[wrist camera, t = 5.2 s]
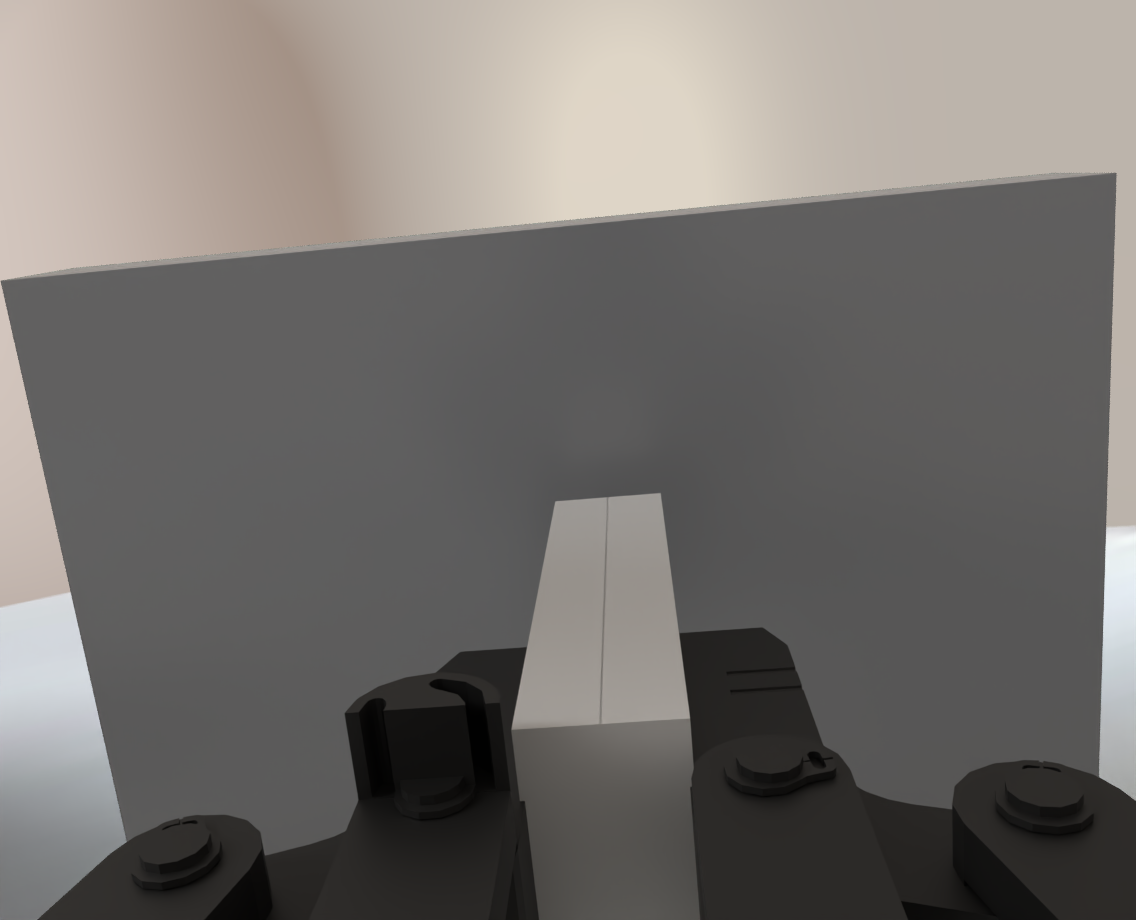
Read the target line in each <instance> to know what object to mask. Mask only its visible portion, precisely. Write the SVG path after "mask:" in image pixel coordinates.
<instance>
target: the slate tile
mask: <svg viewBox="0 0 1136 920" xmlns="http://www.w3.org/2000/svg"><path fill="white" fill-rule="evenodd" d="M1115 204H1116V173H1049V174H1039V175H1029V176H1018V177H1008V178H998V179H988V180H977V181H967V182H956V183H946V184H936V185H926V186H916V187H906V188H896V189H885V190H874V191H864V192H854V193H843V194H834V195H822V196H812V197H802V198H792V199H782V200H771V201H761V202H751V203H740V204H730V205H720V206H709V207H699V208H689V209H679V210H668V211H658V212H648V213H637V214H627V215H616V216H606V217H596V218H585V219H576V220H566V221H555V222H546V223H534V224H524V225H514V226H503V227H493V228H483V229H472V230H463V231H452V232H441V233H432V234H421V235H410V236H400V237H391V238H379V239H370V240H359V241H348V242H339V243H328V244H318V245H308V246H297V247H287V248H277V249H267V250H256V251H246V252H236V253H226V254H215V255H204V256H194V257H184V258H174V259H163V260H154V261H142V262H132V263H122V264H112V265H101V266H91V267H82V268H71V269H66V270H60V271H54V272H49V273H43V274H37V275H31V276H25V277H20V278H14V279H8V280H3V281H1V284H2V289H3V293H4V298H5V302H6V307H7V311H8V315H9V320H10V324H11V329H12V333H13V338H14V342H15V346H16V351H17V355H18V360H19V364H20V369H21V373H22V378H23V382H24V386H25V391H26V395H27V400H28V404H29V408H30V413H31V418H32V422H33V427H34V431H35V435H36V440H37V444H38V449H39V453H40V458H41V462H42V466H43V471H44V475H45V480H46V484H47V489H48V493H49V498H50V502H51V506H52V511H53V515H54V520H55V524H56V529H57V533H58V537H59V542H60V546H61V551H62V555H63V560H64V564H65V568H66V572H67V577H68V582H69V586H70V591H71V595H72V600H73V604H74V609H75V613H76V617H77V622H78V626H79V631H80V635H81V640H82V644H83V648H84V653H85V657H86V662H87V666H88V671H89V675H90V680H91V684H92V688H93V693H94V697H95V702H96V706H97V711H98V715H99V719H100V724H101V728H102V733H103V737H104V742H105V746H106V751H107V755H108V759H109V764H110V768H111V773H112V777H113V782H114V786H115V791H116V795H117V799H118V804H119V808H120V813H121V817H122V822H123V826H124V830H125V835H126V839H127V842H128V841H129V840H131V839H132V838H134V837H135V836H137V835H140V834H142V833H144V832H146V831H149V830H151V829H153V828H155V827H158V826H159V825H160V824H162V823H164V822H167V821H170V820H174V819H177V818H179V820H180V819H183V817H187V816H193V815H229V816H233V817H237V818H241V819H245V820H248V821H249V822H250V823H251V824H252V825H253V826H254V827H255V828H257V829H258V830H259V831H260V833H261V838H262V843H263V849H264V854H265V856H266V855H270V854H273V853H277V852H281V851H285V850H289V849H293V848H297V847H301V846H305V845H309V844H312V843H315V842H319V841H322V840H325V839H328V838H331V837H334V836H336V835H338V834H340V833H343V832H345V831H346V829H347V827H348V824H349V822H350V819H351V817H352V815H353V812H354V810H355V807H356V805H357V802H358V794H357V788H356V782H355V776H354V770H353V763H352V757H351V751H350V745H349V739H348V733H347V727H346V720H345V714H344V713H345V712H346V711H347V710H348V708H349V707H350V706H351V705H352V704H353V703H354V702H355V701H356V699H358V698H359V697H361V696H363V695H364V694H366V693H368V692H370V691H371V690H373V689H375V688H377V687H378V686H381V685H384V684H387V683H390V682H393V681H396V680H399V679H402V678H405V677H411V676H417V675H424V674H430V673H436V672H437V671H438V670H439V669H440V668H442V667H443V666H444V665H445V664H446V663H448V662H449V661H450V660H451V659H452V658H453V657H455V656H456V655H457V654H458V653H459V652H464V651H478V650H492V649H507V648H521V647H527V646H528V641H529V635H530V630H531V625H532V620H533V615H534V609H535V604H536V599H537V594H538V589H539V583H540V578H541V573H542V568H543V563H544V558H545V552H546V547H547V542H548V537H549V532H550V526H551V521H552V516H553V511H554V506H555V501H567V500H579V499H592V498H605V497H617V496H630V495H643V494H655V493H661V500H662V508H663V515H664V523H665V531H666V538H667V546H668V554H669V561H670V569H671V576H672V584H673V592H674V599H675V607H676V615H677V622H678V630H679V633H688V632H702V631H716V630H731V629H745V628H759V627H763V628H764V629H766V630H767V631H768V632H770V633H771V634H773V635H774V636H776V637H777V638H778V639H780V640H781V641H783V642H784V643H785V644H787V645H788V648H789V651H790V653H791V656H792V659H793V662H794V665H795V668H796V671H797V673H798V676H799V678H800V681H801V684H802V690H804V692H805V695H806V698H807V701H808V704H809V706H810V709H811V712H812V715H813V718H814V720H815V723H816V726H817V729H818V732H819V734H820V737H821V740H822V743H823V746H825V747H827V748H829V749H831V750H832V751H834V752H836V753H838V754H839V755H840V757H841V758H842V759H843V760H844V762H845V763H846V764H847V766H848V767H849V768H850V770H851V773H852V775H853V778H854V780H855V783H856V786H857V787H859V788H860V789H862V790H864V791H866V792H869V793H872V794H874V795H877V796H880V797H883V798H886V799H889V800H894V801H899V802H904V803H909V804H915V805H922V806H930V807H938V808H945V809H952V802H953V794H954V787H955V785H956V784H957V783H958V782H959V781H960V780H962V779H963V778H964V777H965V776H966V775H967V774H968V773H969V772H971V771H974V770H977V769H980V768H982V767H985V766H988V765H991V764H994V763H1003V762H1015V761H1020V760H1039V762H1043V761H1047V762H1054V763H1059V764H1063V765H1065V766H1067V767H1071V768H1074V769H1077V770H1081V771H1084V772H1087V773H1090V774H1094V775H1096V776H1097V777H1099V748H1100V714H1101V680H1102V646H1103V612H1104V578H1105V544H1106V510H1107V477H1108V475H1107V474H1108V443H1109V408H1110V406H1109V405H1110V375H1111V374H1110V373H1111V339H1112V307H1113V271H1114V240H1115V237H1114V236H1115V206H1116V205H1115Z"/></svg>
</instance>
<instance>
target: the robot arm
mask: <svg viewBox="0 0 1136 920" xmlns="http://www.w3.org/2000/svg"><path fill="white" fill-rule="evenodd" d="M344 714H345V720H346V727H347V733H348V739H349V745H350V751H351V757H352V763H353V770H354V776H355V782H356V788H357V794H358V802H357V805H356V807H355V810H354V812H353V815H352V817H351V819H350V822H349V824H348V827H347V829H346V831H345V832H343V833H340V834H338V835H336V836H334V837H331V838H328V839H325V840H322V841H319V842H315V843H312V844H309V845H305V846H301V847H297V848H293V849H289V850H285V851H281V852H277V853H273V854H270V855H266V856H265V854H264V849H263V843H262V838H261V833H260V831H259V830H258V829H257V828H255V827H254V826H253V825H252V824H251V823H250V822H249V821H248V820H245V819H241V818H237V817H233V816H229V815H193V816H187V817H183V819H180V820H179V818H177V819H174V820H170V821H167V822H164V823H162V824H160V825H159V826H158V827H155V828H153V829H151V830H149V831H146V832H144V833H142V834H140V835H137V836H135V837H134V838H132V839H131V840H129V841H128V842H127V843H125V844H124V845H122V846H121V847H119V848H118V849H117V850H115V851H114V852H112V853H111V854H110V855H108V856H107V857H106V858H105V859H104V860H103V861H102V862H101V863H100V864H99V865H97V866H96V867H95V868H94V869H93V870H92V871H91V872H90V873H89V874H87V875H86V876H85V877H84V878H83V879H82V880H81V881H80V882H79V883H77V884H76V885H75V886H74V887H73V888H72V889H71V890H70V891H69V892H68V893H66V894H65V895H64V896H63V897H62V898H61V899H60V900H59V901H58V902H56V903H55V904H54V905H53V906H52V907H51V908H50V909H49V910H48V911H46V912H45V913H44V914H43V915H42V916H41V917H40V918H39V919H38V920H1136V801H1135V800H1134V799H1132V798H1131V797H1130V796H1128V795H1127V794H1126V793H1124V792H1123V791H1122V790H1120V789H1119V788H1117V787H1115V786H1113V785H1111V784H1110V783H1108V782H1106V781H1104V780H1103V779H1101V778H1099V777H1097V776H1096V775H1094V774H1090V773H1087V772H1084V771H1081V770H1077V769H1074V768H1071V767H1067V766H1065V765H1063V764H1059V763H1054V762H1047V761H1043V762H1039V760H1020V761H1015V762H1003V763H994V764H991V765H988V766H985V767H982V768H980V769H977V770H974V771H971V772H969V773H968V774H967V775H966V776H965V777H964V778H963V779H962V780H960V781H959V782H958V783H957V784H956V785H955V787H954V794H953V802H952V809H945V808H938V807H930V806H922V805H915V804H909V803H904V802H899V801H894V800H889V799H886V798H883V797H880V796H877V795H874V794H872V793H869V792H866V791H864V790H862V789H860V788H859V787H857V786H856V783H855V780H854V778H853V775H852V773H851V770H850V768H849V767H848V766H847V764H846V763H845V762H844V760H843V759H842V758H841V757H840V755H839V754H838V753H836V752H834V751H832V750H831V749H829V748H827V747H825V746H823V743H822V740H821V737H820V734H819V732H818V729H817V726H816V723H815V720H814V718H813V715H812V712H811V709H810V706H809V704H808V701H807V698H806V695H805V692H804V690H802V684H801V681H800V678H799V676H798V673H797V671H796V668H795V665H794V662H793V659H792V656H791V653H790V651H789V648H788V645H787V644H785V643H784V642H783V641H781V640H780V639H778V638H777V637H776V636H774V635H773V634H771V633H770V632H768V631H767V630H766V629H764V628H763V627H759V628H745V629H731V630H716V631H702V632H688V633H679V630H678V622H677V615H676V607H675V599H674V592H673V584H672V576H671V569H670V561H669V554H668V546H667V538H666V531H665V523H664V515H663V508H662V500H661V493H655V494H643V495H630V496H617V497H605V498H592V499H579V500H567V501H555V506H554V511H553V516H552V521H551V526H550V532H549V537H548V542H547V547H546V552H545V558H544V563H543V568H542V573H541V578H540V583H539V589H538V594H537V599H536V604H535V609H534V615H533V620H532V625H531V630H530V635H529V641H528V646H527V647H521V648H507V649H492V650H478V651H464V652H459V653H458V654H457V655H456V656H455V657H453V658H452V659H451V660H450V661H449V662H448V663H446V664H445V665H444V666H443V667H442V668H440V669H439V670H438V671H437V672H436V673H430V674H424V675H417V676H411V677H405V678H402V679H399V680H396V681H393V682H390V683H387V684H384V685H381V686H378V687H377V688H375V689H373V690H371V691H370V692H368V693H366V694H364V695H363V696H361V697H359V698H358V699H356V701H355V702H354V703H353V704H352V705H351V706H350V707H349V708H348V710H347V711H346V712H345V713H344Z"/></svg>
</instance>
